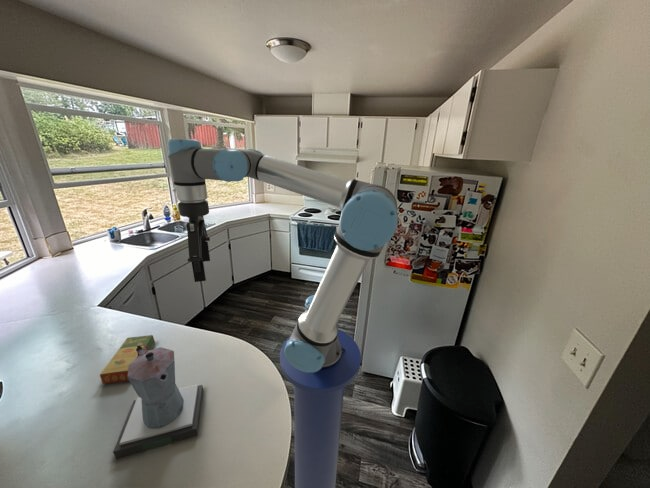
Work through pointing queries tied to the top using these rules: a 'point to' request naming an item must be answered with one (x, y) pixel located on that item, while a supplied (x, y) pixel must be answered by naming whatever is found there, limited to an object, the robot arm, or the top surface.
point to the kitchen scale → (144, 438)
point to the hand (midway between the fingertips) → (203, 270)
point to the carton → (125, 359)
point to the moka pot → (156, 386)
